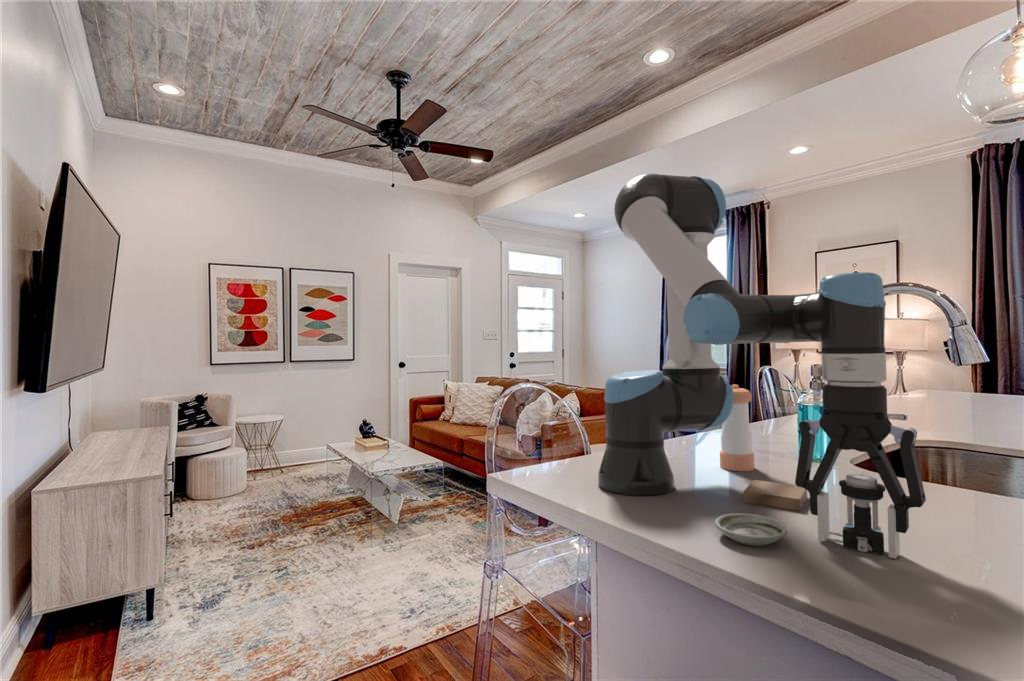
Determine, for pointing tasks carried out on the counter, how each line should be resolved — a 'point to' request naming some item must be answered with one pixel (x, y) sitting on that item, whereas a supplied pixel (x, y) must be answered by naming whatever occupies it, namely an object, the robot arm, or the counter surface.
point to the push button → (862, 514)
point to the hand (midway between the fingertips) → (857, 545)
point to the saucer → (751, 528)
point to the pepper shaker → (737, 435)
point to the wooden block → (775, 495)
